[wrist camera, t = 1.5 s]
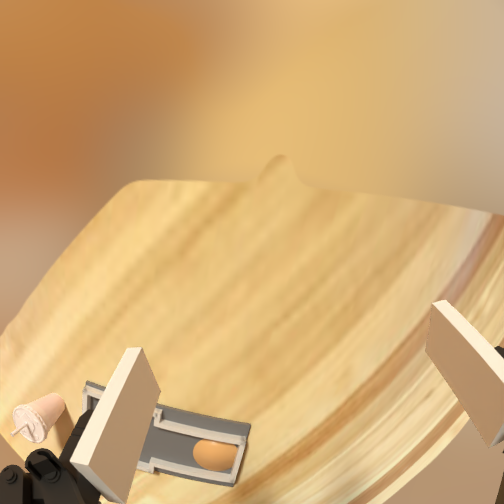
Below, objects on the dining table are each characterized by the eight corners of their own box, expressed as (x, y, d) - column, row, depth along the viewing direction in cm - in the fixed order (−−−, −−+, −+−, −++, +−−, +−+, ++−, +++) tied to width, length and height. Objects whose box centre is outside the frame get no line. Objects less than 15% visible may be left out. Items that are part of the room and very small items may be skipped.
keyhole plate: (232, 484, 42) (232, 492, 40) (86, 445, 41) (81, 450, 39) (250, 423, 42) (250, 430, 40) (87, 380, 41) (81, 385, 39)
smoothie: (70, 391, 41) (26, 427, 27) (73, 423, 41) (34, 463, 27) (40, 381, 41) (-8, 411, 27) (43, 412, 41) (1, 446, 27)
